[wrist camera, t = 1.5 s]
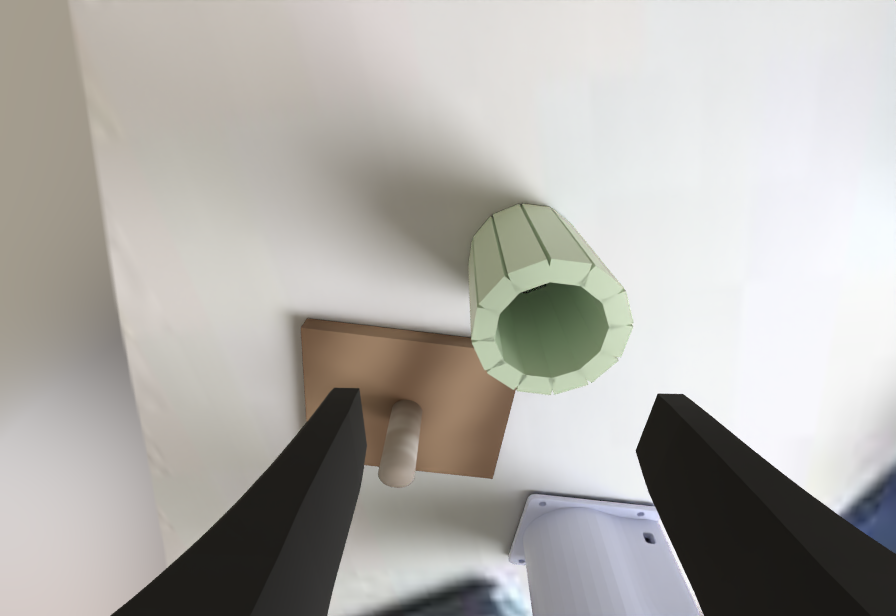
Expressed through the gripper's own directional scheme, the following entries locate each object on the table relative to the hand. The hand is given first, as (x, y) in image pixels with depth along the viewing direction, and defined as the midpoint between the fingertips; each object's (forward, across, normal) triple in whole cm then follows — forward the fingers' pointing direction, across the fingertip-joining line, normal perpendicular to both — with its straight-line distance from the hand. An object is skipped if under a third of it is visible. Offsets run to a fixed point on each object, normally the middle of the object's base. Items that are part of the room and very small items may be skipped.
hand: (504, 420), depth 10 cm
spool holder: (+11, +4, +10) cm, 15 cm away
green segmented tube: (+11, -2, +1) cm, 12 cm away
